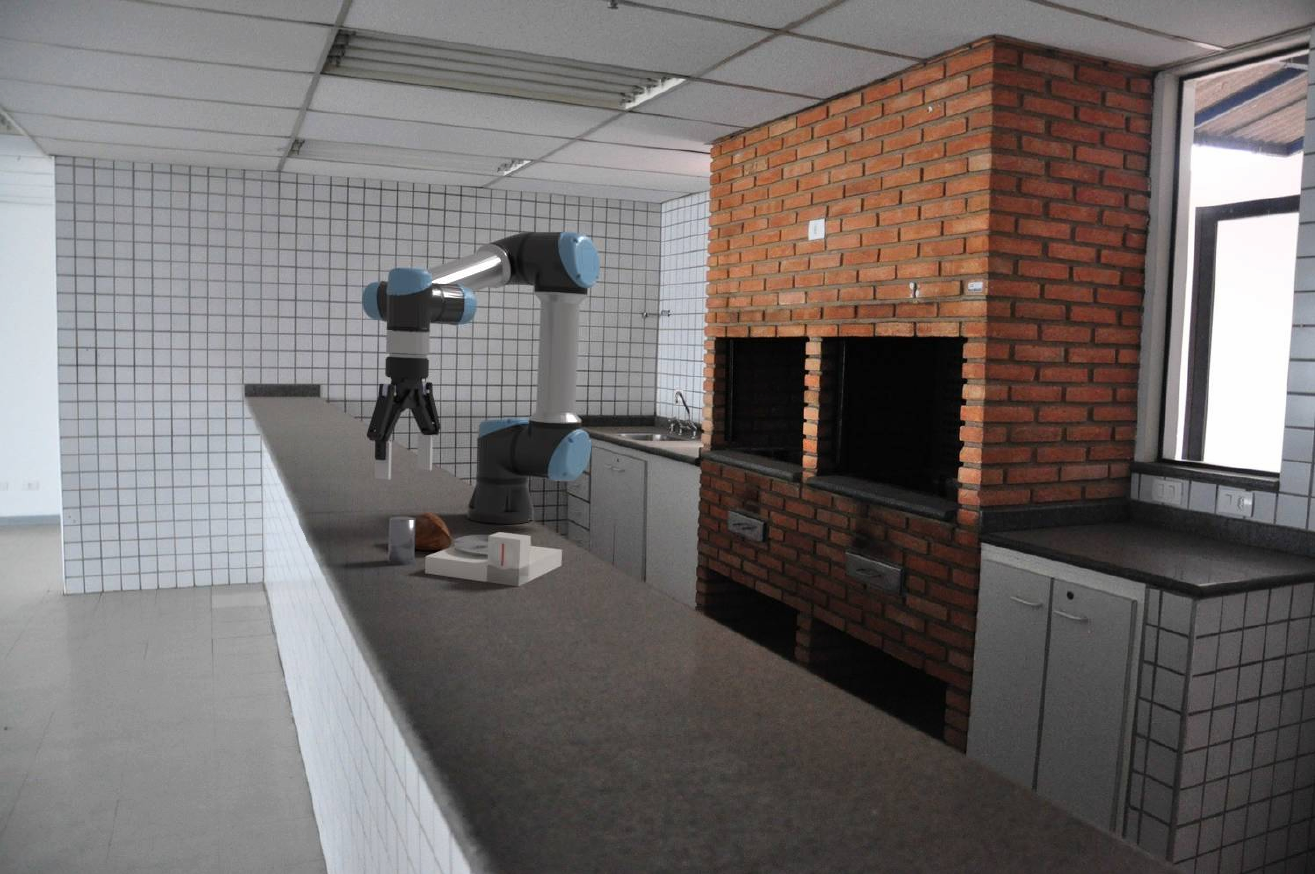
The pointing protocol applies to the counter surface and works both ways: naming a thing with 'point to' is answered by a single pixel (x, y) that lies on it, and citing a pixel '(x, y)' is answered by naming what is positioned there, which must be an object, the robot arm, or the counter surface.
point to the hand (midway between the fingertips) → (404, 474)
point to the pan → (473, 544)
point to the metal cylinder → (401, 540)
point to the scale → (497, 561)
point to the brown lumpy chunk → (431, 533)
